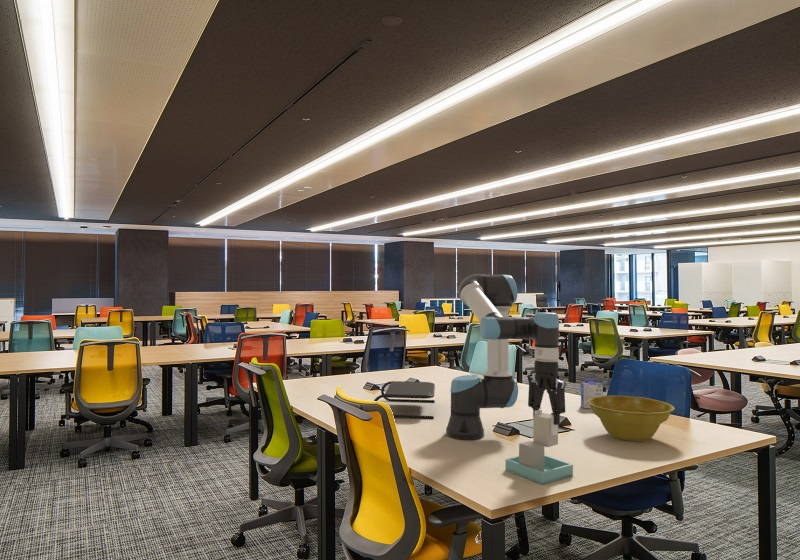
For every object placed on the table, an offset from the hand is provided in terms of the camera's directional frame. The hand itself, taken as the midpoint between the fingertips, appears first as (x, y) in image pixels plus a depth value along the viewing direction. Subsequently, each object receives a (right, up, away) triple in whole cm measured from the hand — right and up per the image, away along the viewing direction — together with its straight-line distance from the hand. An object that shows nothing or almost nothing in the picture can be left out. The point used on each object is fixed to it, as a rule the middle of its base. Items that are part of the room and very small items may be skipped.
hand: (546, 432), depth 172 cm
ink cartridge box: (+49, -15, +97) cm, 110 cm away
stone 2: (0, -4, 0) cm, 4 cm away
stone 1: (-6, -12, -4) cm, 14 cm away
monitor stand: (-44, -14, +87) cm, 99 cm away
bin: (-3, -12, -2) cm, 13 cm away
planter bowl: (+45, -14, +43) cm, 64 cm away
